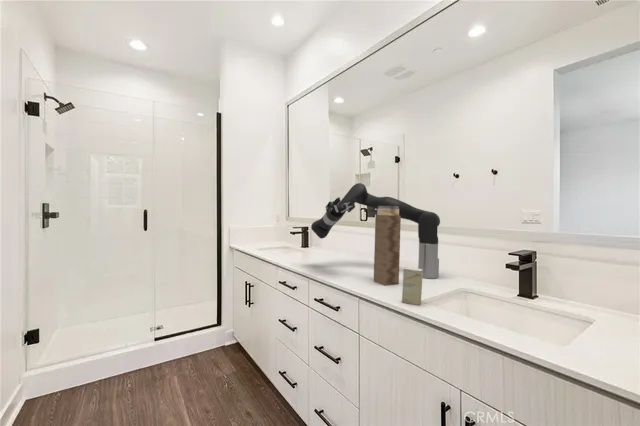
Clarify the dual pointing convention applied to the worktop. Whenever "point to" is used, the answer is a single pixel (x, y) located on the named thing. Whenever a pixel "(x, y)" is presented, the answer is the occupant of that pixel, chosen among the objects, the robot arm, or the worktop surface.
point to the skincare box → (412, 285)
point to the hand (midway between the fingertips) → (347, 199)
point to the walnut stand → (387, 249)
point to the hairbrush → (385, 210)
